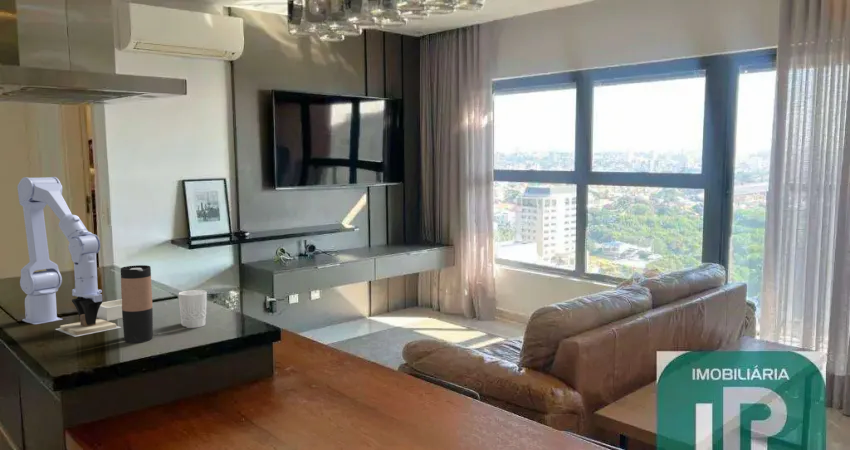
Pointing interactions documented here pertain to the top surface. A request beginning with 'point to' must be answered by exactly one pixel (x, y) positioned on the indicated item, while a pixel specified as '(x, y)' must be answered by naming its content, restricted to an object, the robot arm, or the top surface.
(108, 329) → the mat
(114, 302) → the white box
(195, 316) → the white cup
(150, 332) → the travel mug
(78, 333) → the lid
